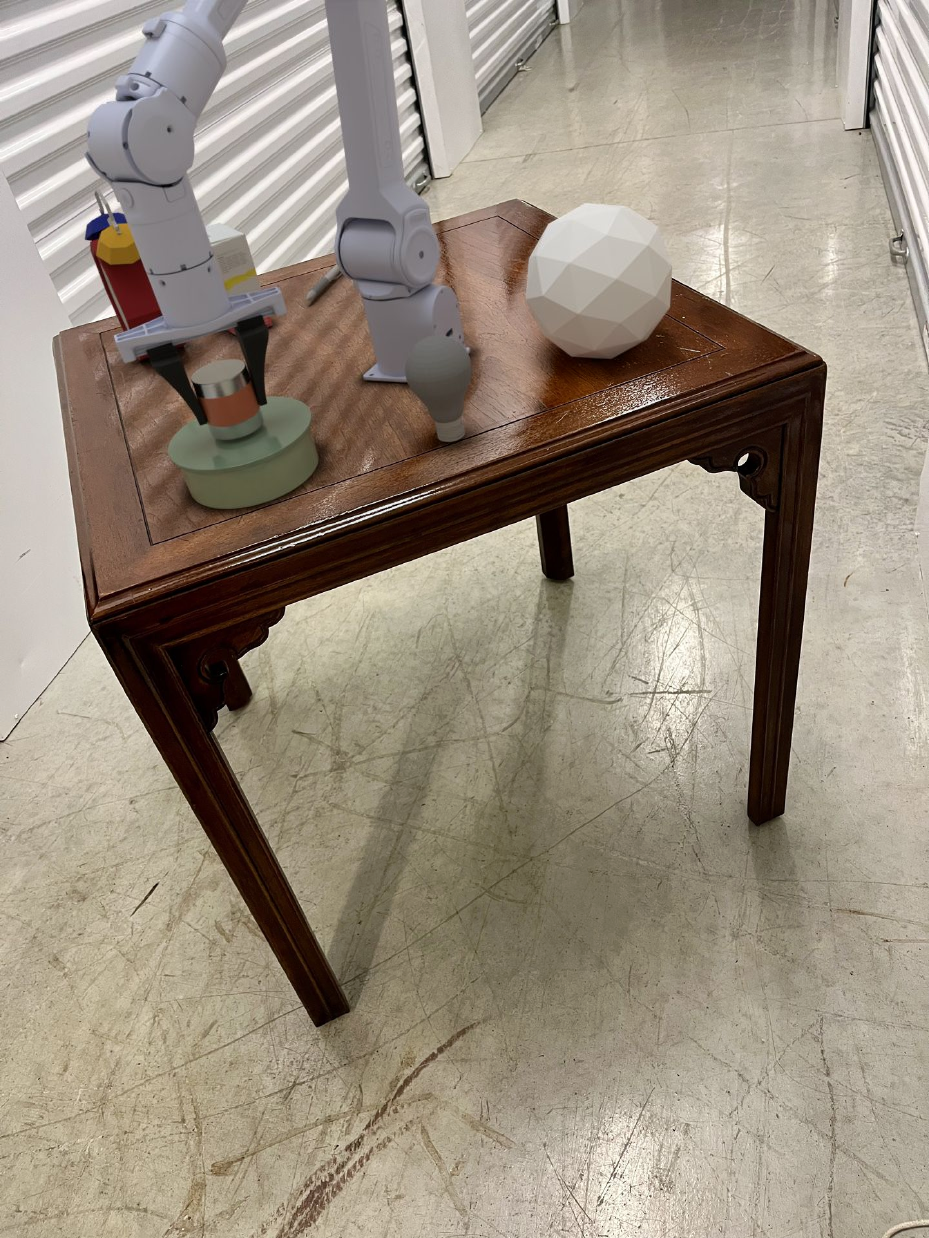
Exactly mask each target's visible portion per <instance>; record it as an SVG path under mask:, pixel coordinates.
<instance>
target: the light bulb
mask: <svg viewBox="0 0 929 1238" xmlns="http://www.w3.org/2000/svg"><path fill="white" fill-rule="evenodd" d="M405 375H406V379H407V382H406V383H407V385H408V386H409V388H410V390H411V391H412V393H413V394H414V395H415V396H416V398H418V399H419V400H420V401H421V402H422V404H423V405H424V406H425V407H426V409H427V412H428V414H429V416H430V418H431V419H432V420H433V422H434V425H435V431H436V435H437V439H438V441H441V442H447V443H454V442H456V441H458V440H460V439H463V437H464V436H465V435H466V431H465V427H464V426H465V425H464V420H463V413H464V409H465V403H464V401H465V396H466V393H467V391H468V389H469V387H470V383H471V381H472V375H473V365H472V360H471V357H470V354H468V353H467V351H466V350H465V349H464V348H463V346H462V345H461V344H460V343H458V342H457V341H455V340H454V339H452V338H450V337H447V336H442V335H434V336H429V337H427V338H424V339H422V340H421V341H419V342H418V343H417V344H416V345H415V346H414V347H413V348H412V350H411V351H410V353H409V355H408V358H407V361H406V365H405Z"/></svg>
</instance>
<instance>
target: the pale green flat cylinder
mask: <svg viewBox="0 0 929 1238" xmlns="http://www.w3.org/2000/svg"><path fill="white" fill-rule="evenodd" d="M266 399H267V404H266V405H263V406H260V409H261V412H262V415H263V418H264V422H263V424H262V426H261V427H260V428H259V429H257V430H256V431H254V432H253V433H251V434H249V435H246V436H244V437H241V438H237V439H231V440H220V439H216V438H214V437H213V436H212V435H211V432H210V430H209V427H208V424H204V425H201V426H200V425H199V423H198V420H197V419H196V417H195V418H194V419H193V420H190V421H189V422H188V423H186V424H185V425H184V426H182V428H180V429H179V430H178V431H177V432H176V433H174V436H173V437H172V439H170V442H169V444H168V448H167V454H168V457H169V459H170V462H171V463H172V464H173V465H174V466H175V467H176V468H177V469H178V470H179V469H180V471H181V474H182V476H183V479H184V481H185V483H186V485H187V486H186V487H187V488H188V491H189V493H190V495H191V497H192V498H193V500H194V501H195V502H197V503H198V504H200V505H202V506H205V507H208V508H212V509H218V510H219V509H220V510H234V509H236V510H237V509H243V508H249V507H253V506H258V505H261V504H265V503H268V502H271V501H273V500H275V499H278V498H281V497H283V496H285V495H287V494H288V493H291V492H292V491H293V490H295V489H297V488H298V487H300V486H301V485H302V484H304V483H305V482H306V481H307V480H308V479H309V478H310V477H311V476H312V475H313V474H314V472H315V470H317V469H316V468H317V467H318V465H319V453H318V449H317V446H316V443H315V440H314V436H313V433H312V430H311V428H312V425H313V419H314V417H313V414H312V411H311V409H310V407H309V406H308V405H306V403H304V402H303V401H301V400H298V399H296V398H292V397H289V396H288V397H287V396H273V395H271V396H266Z"/></svg>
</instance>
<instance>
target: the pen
mask: <svg viewBox="0 0 929 1238" xmlns="http://www.w3.org/2000/svg"><path fill="white" fill-rule="evenodd" d="M342 275H343V274H342V273H341V271H340V269H339V268H338V265H337V263H335V265H334V266H333V267H332V268H331V269H330V270H329V271H328V272H327V273H326V274H325V275H324V276H323V277H322V278H321V279H320V280H318V282H317V283H316V284H315V285H314V286H313V287H312V288H311V289H310V290H309V292H308V293H307V295H306V301H311V300H313V299H315V298H317V296H318V295H319V294H320V293H321V292H322V291H323V290H324V289H325V288H326V287H327V285H328V284H329V283H330V282H331V281H332V280H333V281H334V280H337V279H339V278H340V277H341V276H342Z"/></svg>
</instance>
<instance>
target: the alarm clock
mask: <svg viewBox="0 0 929 1238" xmlns="http://www.w3.org/2000/svg"><path fill="white" fill-rule="evenodd" d="M94 197H95V200H96V202H97V205H98V210H99V213H100V215H98V216H96V217H95V218H93V219H91V220H90V221H89V222H88V223H87V224H86V226H85V234H84V240H85V241H89V248H90V249H89V250H90V253H91V256H92V259H93V261H94V264H95V266H96V270H97V272H98V275H99V277H100V280H101V283H102V285H103V288H104V290H105V292H106V295H107V297H108V299H109V301H110V302H109V303H110V305H111V306H112V308H113V311H114V314H115V315H116V318H117V320H118V322H119V325H120V328H121V330H122V333H123V332H126V331H128V330H131V329H133V328H136V327H138V326H140V325H143V324H145V323H147V322H150V321H152V320H154V319H157V318H159V317H161V316H163V315H162V312H161V310H160V307H159V304H158V302H157V299H156V296H155V294H154V291H153V288H152V286H151V283H150V281H149V278H148V275H147V273H146V271H145V268H144V265H143V263H142V260H141V257H140V255H139V252H138V249H137V247H136V244H135V242H134V239H133V236H132V234H131V231H130V228H129V226H128V223H127V220H126V218H125V215H124V213H122V212H112V209H111V207H110V204H109V203H108V201H107V199H106V197H105V196H104V194H103V193H102V190H101V189H100V188H98V187H96V188H95V191H94ZM103 205H104V206H103ZM105 209H106V212H107V213H106V212H105ZM187 343H188V342H184V343H181V344H178V345H175V346H176V348H177V349H179V348H182V347H184V346H185V345H186V344H187ZM136 358H137V359H136V360H137V361H138V362H142V361H144V360H147V359H149V357H148V354H145V355H142V356H139V357H136Z"/></svg>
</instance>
